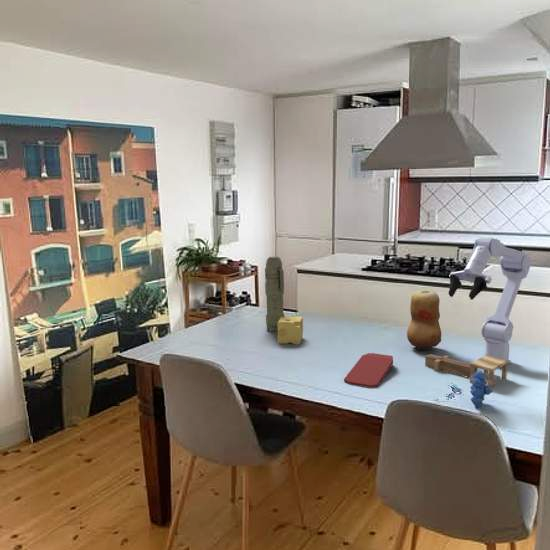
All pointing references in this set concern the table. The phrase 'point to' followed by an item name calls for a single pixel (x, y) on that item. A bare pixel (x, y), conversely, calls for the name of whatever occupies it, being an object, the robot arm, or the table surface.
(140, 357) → the table surface
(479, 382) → the grapes
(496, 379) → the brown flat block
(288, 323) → the cheese
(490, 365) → the small wooden table
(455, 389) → the decorative blades
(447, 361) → the brown wooden stepped bar
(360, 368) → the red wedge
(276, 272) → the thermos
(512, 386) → the table surface
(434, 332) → the butternut squash
